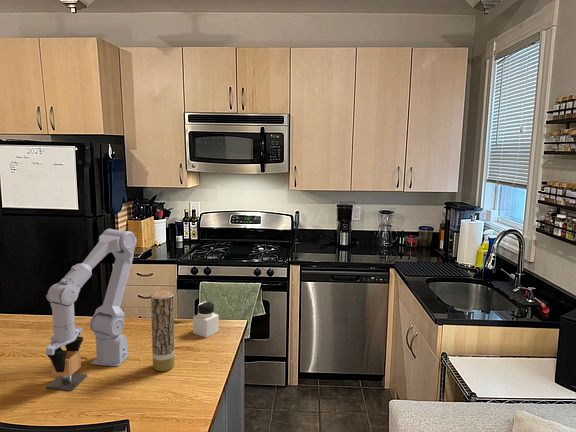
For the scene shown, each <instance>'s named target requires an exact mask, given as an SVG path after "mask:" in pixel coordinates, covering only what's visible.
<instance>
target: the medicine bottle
mask: <svg viewBox="0 0 576 432" xmlns="http://www.w3.org/2000/svg"><path fill="white" fill-rule="evenodd" d="M214 311H215V304H214V303H213V302H210V301H202V302H200V303H199V304H198V305H197V314H195V315H193V316H192V333H193V335H194V334H195V335H197V336H199V337H203V338H209V337H211V336H212V335H214V334H217V333H218V332H219V331H220V329H219V327H220V325H219V324H220V320H219V317H220V316H219V314H217V313H215V312H214Z"/></svg>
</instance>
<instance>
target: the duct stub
mask: <svg viewBox="0 0 576 432" xmlns="http://www.w3.org/2000/svg"><path fill="white" fill-rule="evenodd" d="M87 378H88V373H75V372H74V373H73V374H72V375H71V376H59V375H57V377H55V378H54V379H52V380H51V381H50V382H49V383H48V384H47V385H45V389H47V390H58V391H66V392H67V391H74V390H75V389H76V388H77V387H78V386H79V385H80V384H81V383H82V382H83V381H84V380H85V379H87Z"/></svg>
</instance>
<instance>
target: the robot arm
mask: <svg viewBox="0 0 576 432" xmlns="http://www.w3.org/2000/svg"><path fill="white" fill-rule="evenodd" d="M137 242H138V239H137V238H136V236H135V234H134V232H133V231H131V230H130V231H129V230H127V231H126V230H120V229H113V228H106V229H105V230H104V231H103V232H102V233H101V234H100V235H99V237H98V242H97V243H96V245H95V246H94V247H93V248H92V250H91V251H90V252H89V254H88V255H87V256H86V257H85V259H84V260H83V261H82V262H81V263H76V264H75V265H72V266H71V268H70V270H69V271H68V272H67V273H66V274H65V275H64V277H63V278H61V280H60V281H59V282H57V283H54V284H53V285H51V286H50V287H49V289H48V291H47V294H46V295H45V297H46V300H47V301H49V302H50V303H49V304H50V308H51V311H52V312H51V313H52V314H51V315H52V331H53V335H52V336H51V337H50V343H49V345H48V346H47V347H46V348H45V355H46V356H47V357H48V358H49V359H50V362H51V361H52V363H53V365H54V368H55V370H56V372H64V368H65V358H66V354H67V352H68V351H78V352H80V351H79V350H80V347H81V345H82V343H83V341H84V337H83V336H80V335H82V334H83V328H82V327H76V323H75V321H76V319H75V302H76V301H77V299H78V297H79V294H80V292H81V288H83V286H84V285H85V283H87V281H88V280H89V279H90V278H91V277H92V274H93V273H92V270H93V269H94V268H95V267H96V266H97V265H98V264H99V263H100V262H102V260H103V259H104V258H105V257H106V256H107V255H109V254H110V253H112V254H113V256H114V258H115V260H114V263H113V267H112V270H111V271H112V272H111V275H110V278H109V281H108V285H107V289H106V292H105V294H104V295H105V296H104V299H103V302H102V304H101V305H100V306H98V307H97V308H96V309H95V312H94V314H93V315H92V317H91V319H90V322H89V328H90V330H91V331H92V332H93V336H95V348H96V349H95V350H96V357H95V359H94V360H93V361H91V362H90V364H91V365H95V366H96V365H97V366H110V367H119V366H120V365H121V364H122V363H124V361H125V360H126V359H127V358H128V357H129V356H130V354H129V344H128V343H129V342H128V340H129V339H128V337H127V335H124V334H122V332H123V330H124V327H125V316H126V314H125V313H124V311H123V310H122V307H121V305H122V301H123V297H124V293H125V290H126V286H127V283H128V279H129V275H130V271H131V267H132V265H133V260H134V257H135V256H134V255H135V253H134V252H135V248H136V245H137ZM62 347H65V349H66V350H65V349H63V348H62Z"/></svg>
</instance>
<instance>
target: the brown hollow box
mask: <svg viewBox="0 0 576 432" xmlns="http://www.w3.org/2000/svg"><path fill="white" fill-rule="evenodd" d="M81 362H82V361H81V352H80V351H68V352H67V354H66V358H65V368H64V372H56V370H55V368H54V365H53V363H52V361H51V360H50V363H51V365H50V367H51V376H71V375H72V374H73V373H75V372H77V371H78V370H79V369H80V368H82V365H81V364H82V363H81Z"/></svg>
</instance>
